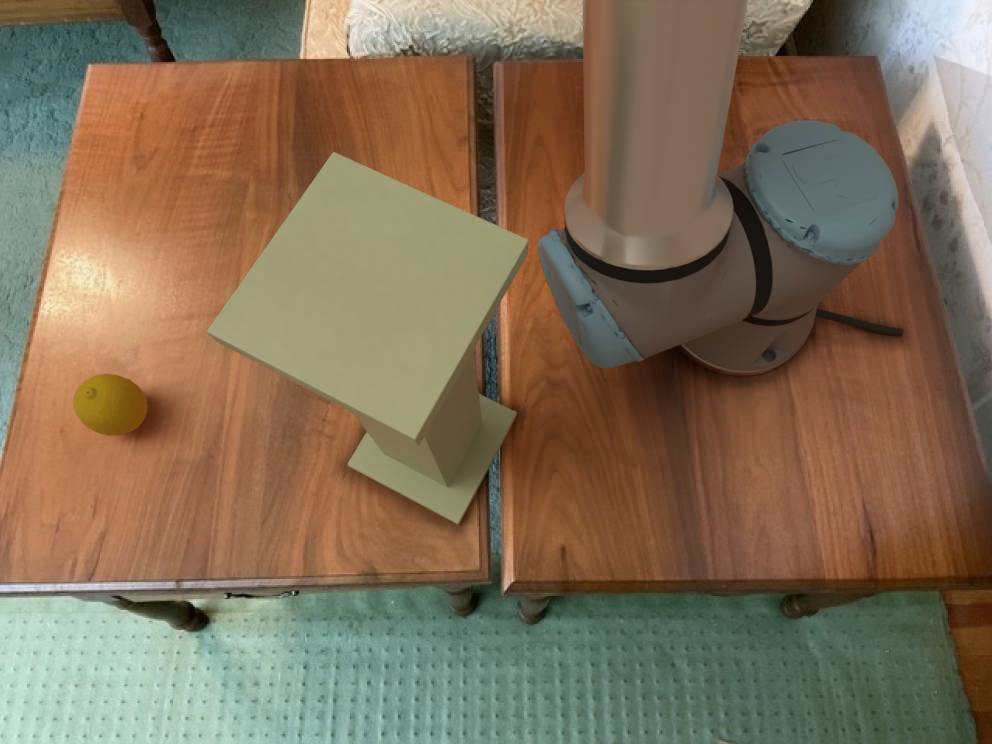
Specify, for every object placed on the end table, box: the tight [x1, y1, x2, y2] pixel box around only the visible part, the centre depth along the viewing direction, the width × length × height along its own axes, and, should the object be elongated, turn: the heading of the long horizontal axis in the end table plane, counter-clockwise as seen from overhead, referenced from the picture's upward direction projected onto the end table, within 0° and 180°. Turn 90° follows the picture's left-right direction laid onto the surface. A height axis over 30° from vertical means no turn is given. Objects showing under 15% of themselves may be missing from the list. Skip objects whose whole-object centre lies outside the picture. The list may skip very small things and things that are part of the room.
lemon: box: [72, 373, 149, 437], centre depth 65 cm, size 6×6×8 cm
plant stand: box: [206, 151, 530, 526], centre depth 51 cm, size 12×12×34 cm
